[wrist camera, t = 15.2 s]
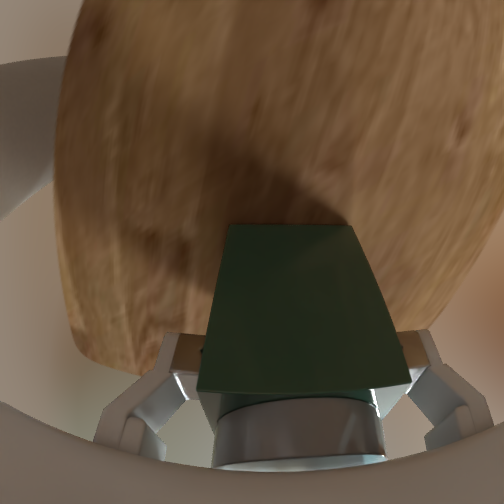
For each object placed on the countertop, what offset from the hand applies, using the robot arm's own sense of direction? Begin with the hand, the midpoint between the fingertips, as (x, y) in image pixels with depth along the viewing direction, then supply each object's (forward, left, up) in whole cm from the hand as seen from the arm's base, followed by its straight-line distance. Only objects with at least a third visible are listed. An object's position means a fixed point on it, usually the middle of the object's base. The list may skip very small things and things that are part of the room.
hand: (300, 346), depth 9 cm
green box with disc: (+3, -4, -1) cm, 5 cm away
